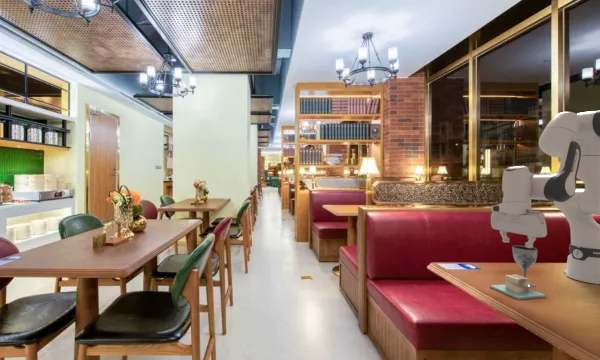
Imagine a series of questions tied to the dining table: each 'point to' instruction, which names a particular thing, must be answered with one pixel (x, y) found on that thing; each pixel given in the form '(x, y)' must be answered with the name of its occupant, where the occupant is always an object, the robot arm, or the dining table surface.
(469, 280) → the dining table surface
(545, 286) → the dining table surface
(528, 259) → the wine glass
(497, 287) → the pad
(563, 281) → the dining table surface
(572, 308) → the dining table surface
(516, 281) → the cube
